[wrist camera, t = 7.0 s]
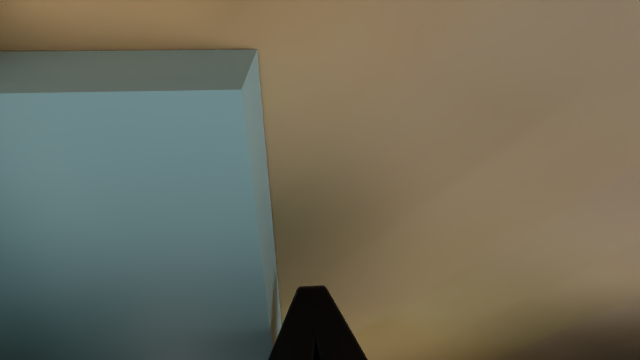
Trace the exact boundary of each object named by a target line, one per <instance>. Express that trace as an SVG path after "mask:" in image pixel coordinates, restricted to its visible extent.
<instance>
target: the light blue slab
mask: <svg viewBox="0 0 640 360" xmlns="http://www.w3.org/2000/svg"><path fill="white" fill-rule="evenodd" d="M281 327H282V322H281V311H280V300H279V289H278V278H277V266H276V255H275V244H274V233H273V222H272V210H271V199H270V188H269V177H268V165H267V154H266V143H265V132H264V121H263V109H262V98H261V87H260V76H259V65H258V53H257V49H244V50H121V51H0V360H268V358H269V356H270V354H271V351H272V349H273V346H274V344H275V342H276V339H277V337H278V334H279V332H280V329H281Z"/></svg>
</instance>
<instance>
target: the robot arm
mask: <svg viewBox="0 0 640 360" xmlns="http://www.w3.org/2000/svg"><path fill="white" fill-rule="evenodd" d="M268 360H368V359H367V358H366V356H365V354H364V352H363V351H362V349H361V347H360V345H359V344H358V342H357V340H356V338H355V337H354V335H353V333H352V331H351V330H350V328H349V326H348V324H347V323H346V321H345V319H344V317H343V316H342V314H341V312H340V311H339V309H338V307H337V305H336V304H335V302H334V300H333V298H332V297H331V295H330V293H329V291H328V290H327V288H326V287H325V286H323V285H322V286H301V287H299V288H298V289H297V291H296V293H295V296H294V298H293V300H292V303H291V305H290V308H289V310H288V313H287V315H286V317H285V320H284V322H283V325H282V327H281V329H280V332H279V334H278V337H277V339H276V342H275V344H274V346H273V349H272V351H271V354H270V356H269V358H268Z"/></svg>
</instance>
